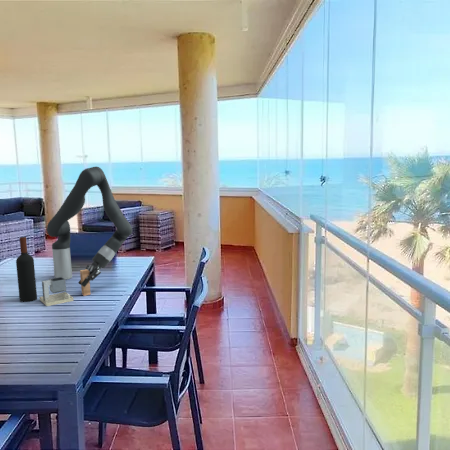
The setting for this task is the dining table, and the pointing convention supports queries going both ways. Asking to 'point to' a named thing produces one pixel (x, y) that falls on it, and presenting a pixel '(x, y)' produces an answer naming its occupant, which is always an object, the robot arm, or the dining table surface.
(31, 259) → the wine bottle
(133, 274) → the dining table surface
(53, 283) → the cup bracket
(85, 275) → the tan wooden block
